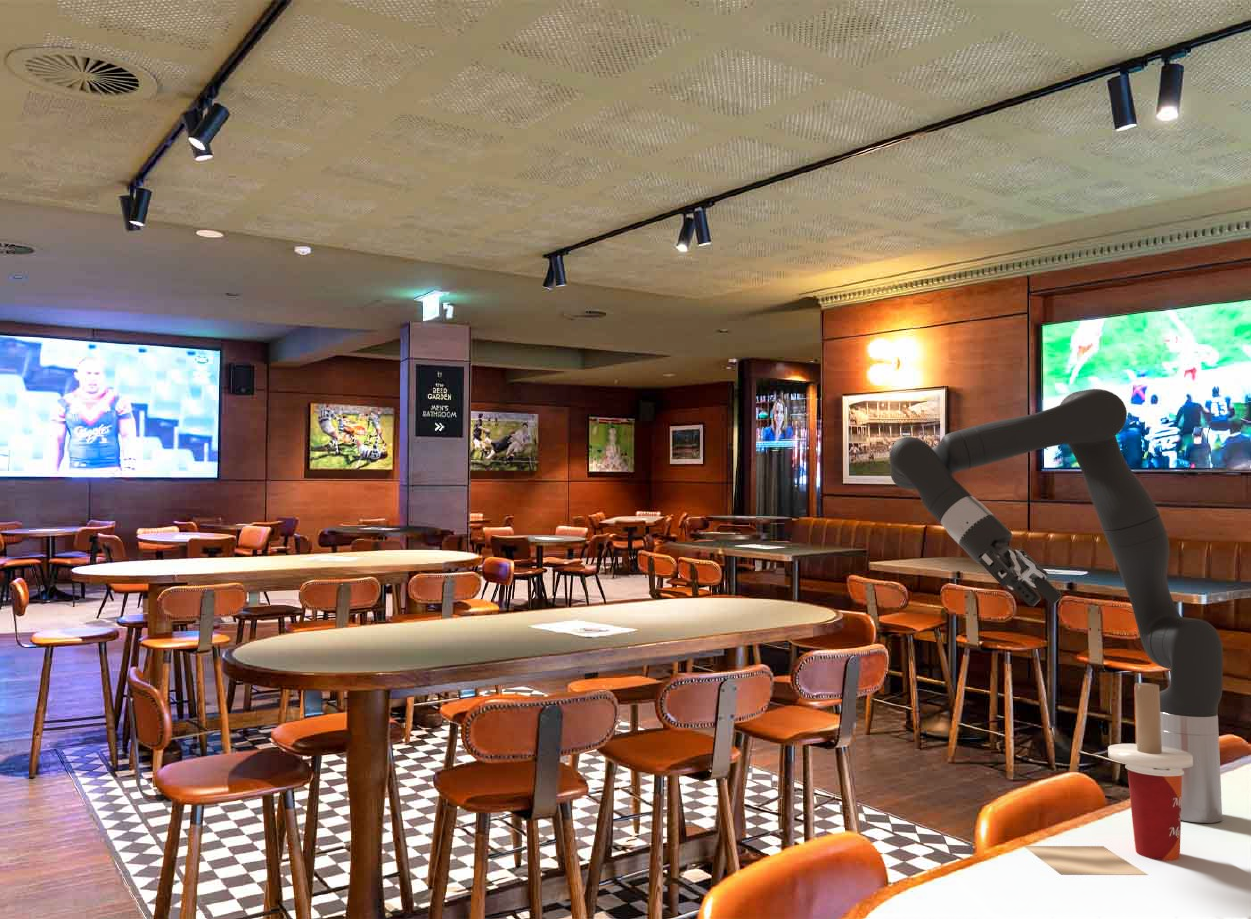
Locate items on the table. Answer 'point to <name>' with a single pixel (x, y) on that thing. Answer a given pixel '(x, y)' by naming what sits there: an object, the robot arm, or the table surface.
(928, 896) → the table surface
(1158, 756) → the beige peg stand
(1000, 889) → the table surface
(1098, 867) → the cork mat
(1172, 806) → the paper cup
